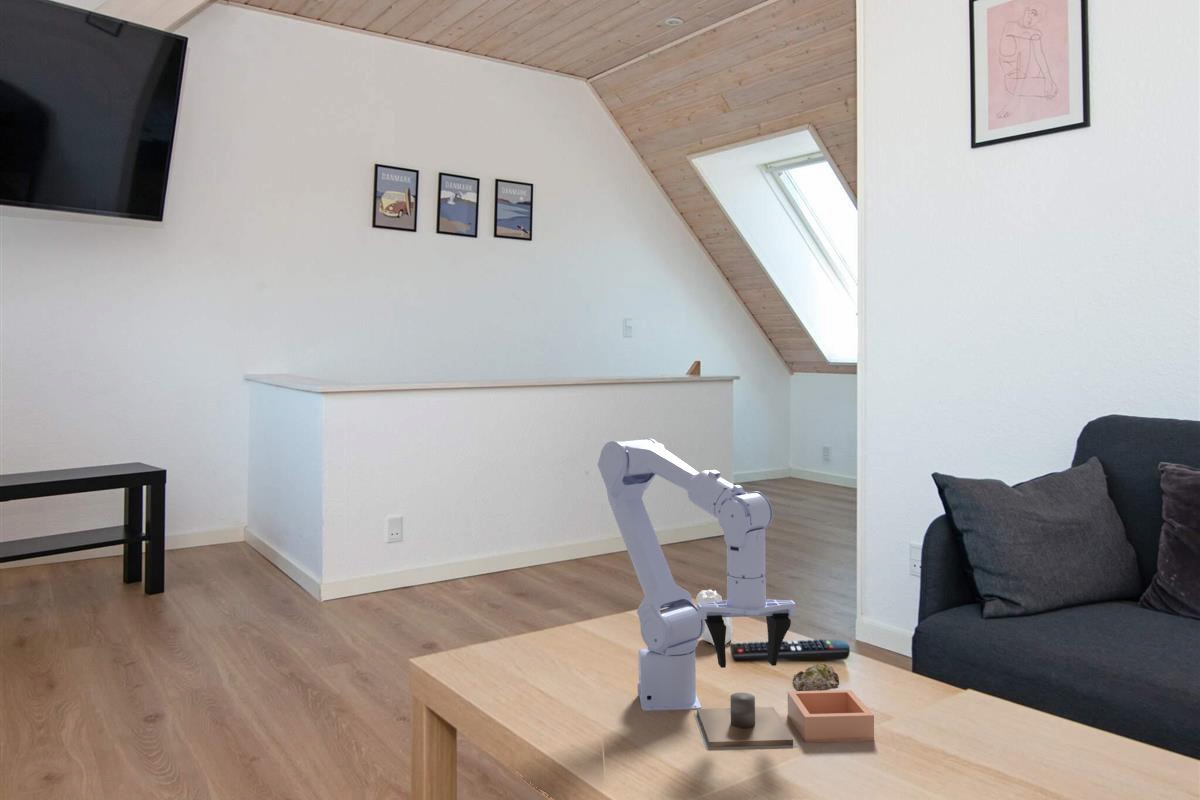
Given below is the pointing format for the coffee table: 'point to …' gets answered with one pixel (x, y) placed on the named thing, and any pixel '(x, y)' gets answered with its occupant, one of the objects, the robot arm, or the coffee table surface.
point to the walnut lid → (743, 724)
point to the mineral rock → (816, 678)
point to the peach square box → (830, 716)
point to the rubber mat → (734, 747)
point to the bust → (714, 597)
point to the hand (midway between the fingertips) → (747, 664)
